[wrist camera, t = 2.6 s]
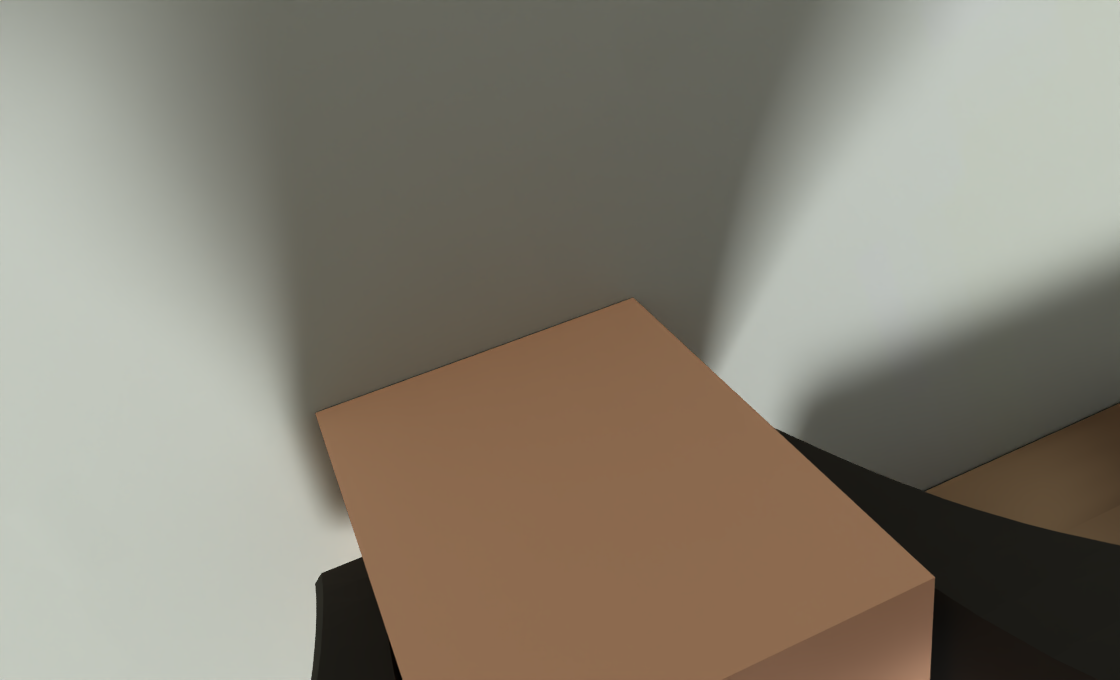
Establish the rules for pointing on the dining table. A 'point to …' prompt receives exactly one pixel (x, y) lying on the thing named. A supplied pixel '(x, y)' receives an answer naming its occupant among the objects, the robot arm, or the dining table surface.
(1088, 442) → the wooden tray
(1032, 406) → the dining table surface
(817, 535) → the terracotta block
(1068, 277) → the dining table surface
